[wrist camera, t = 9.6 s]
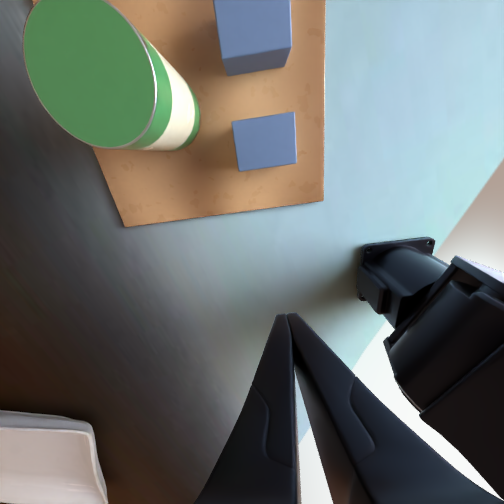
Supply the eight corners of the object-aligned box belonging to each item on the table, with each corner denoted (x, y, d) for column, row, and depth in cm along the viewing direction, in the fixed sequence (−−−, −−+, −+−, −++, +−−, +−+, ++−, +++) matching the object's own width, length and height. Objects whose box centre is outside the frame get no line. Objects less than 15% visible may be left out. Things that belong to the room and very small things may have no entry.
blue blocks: (281, 6, 13) (289, -33, 10) (290, 161, 17) (297, 163, 14) (218, 18, 13) (209, -17, 11) (240, 168, 17) (238, 172, 14)
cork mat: (324, -86, 12) (326, -94, 11) (322, 200, 19) (323, 200, 18) (27, -22, 13) (20, -28, 12) (127, 225, 20) (125, 227, 19)
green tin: (247, 19, 10) (-29, -88, 5) (259, 134, 13) (74, 147, 7) (168, 81, 17) (7, 63, 11) (185, 151, 19) (56, 164, 13)
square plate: (-26, 471, 41) (-52, 501, 37) (-94, 384, 30) (-141, 415, 26) (117, 484, 43) (105, 513, 40) (105, 407, 32) (87, 438, 28)
